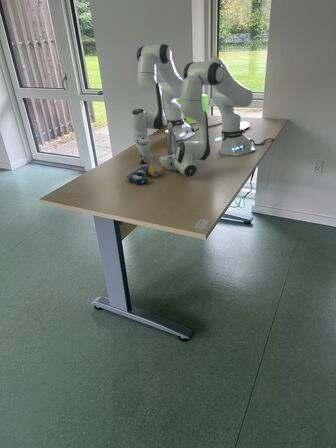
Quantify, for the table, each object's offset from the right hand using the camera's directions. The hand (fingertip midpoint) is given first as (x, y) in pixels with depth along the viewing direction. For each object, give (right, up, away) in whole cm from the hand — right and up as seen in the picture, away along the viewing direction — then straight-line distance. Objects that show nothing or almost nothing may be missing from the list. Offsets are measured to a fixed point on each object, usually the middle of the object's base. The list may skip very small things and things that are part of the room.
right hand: (172, 154), depth 203 cm
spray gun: (-16, -16, -14) cm, 26 cm away
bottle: (+1, -5, +2) cm, 5 cm away
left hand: (-18, -2, +5) cm, 19 cm away
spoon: (+52, +27, +48) cm, 75 cm away
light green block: (+16, +48, +86) cm, 100 cm away
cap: (-18, -3, +6) cm, 19 cm away
